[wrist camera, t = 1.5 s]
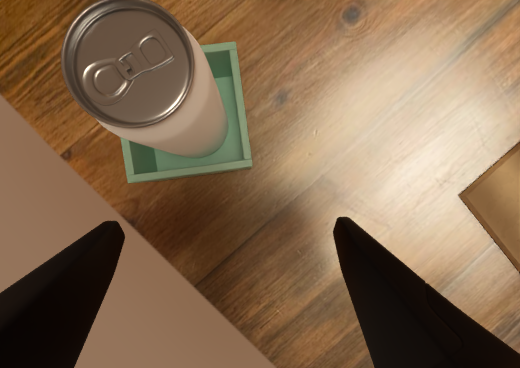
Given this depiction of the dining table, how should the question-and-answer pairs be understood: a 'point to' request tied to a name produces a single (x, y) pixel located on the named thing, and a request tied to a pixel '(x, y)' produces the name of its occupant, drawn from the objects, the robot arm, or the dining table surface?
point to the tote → (224, 159)
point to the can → (144, 77)
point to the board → (499, 203)
